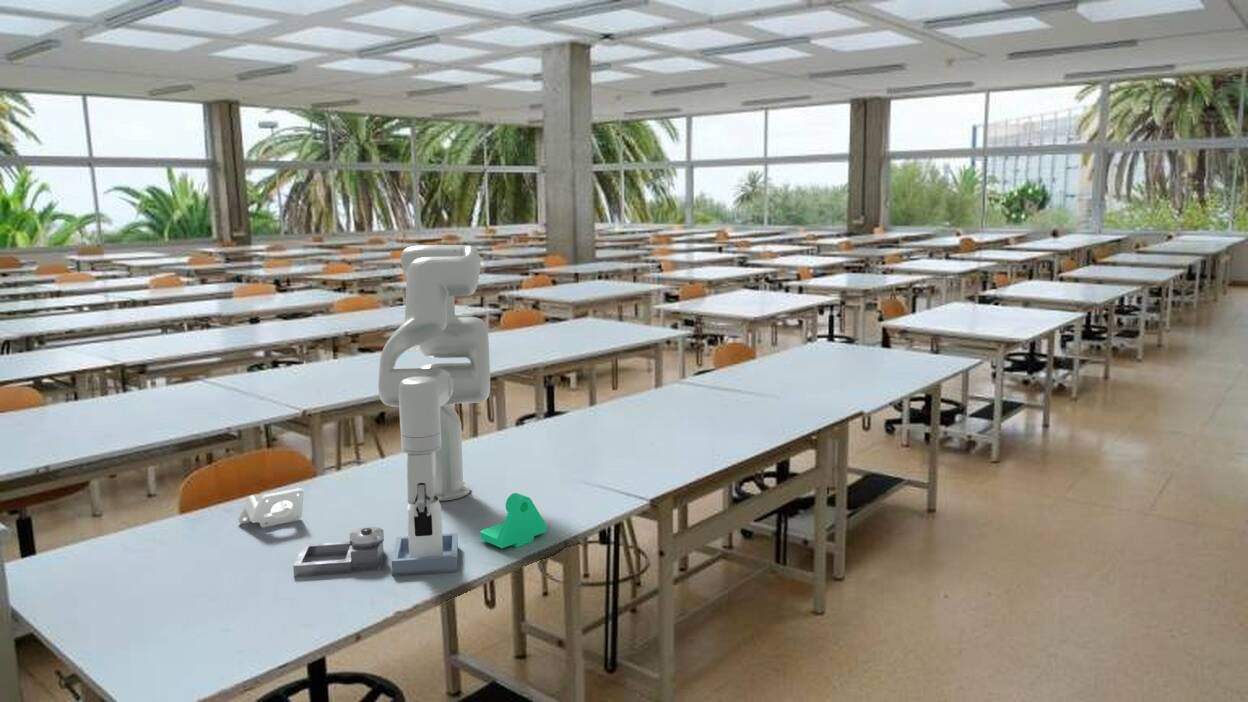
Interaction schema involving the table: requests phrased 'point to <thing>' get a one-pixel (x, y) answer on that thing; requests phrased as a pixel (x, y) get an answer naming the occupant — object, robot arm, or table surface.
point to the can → (425, 544)
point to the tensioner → (360, 554)
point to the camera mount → (516, 524)
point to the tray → (425, 558)
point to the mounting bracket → (273, 508)
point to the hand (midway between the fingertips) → (425, 525)
